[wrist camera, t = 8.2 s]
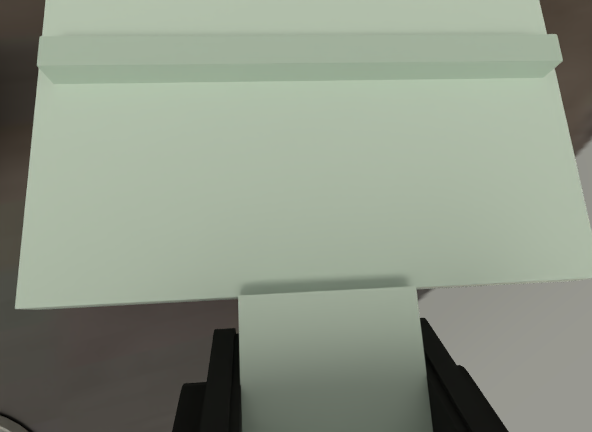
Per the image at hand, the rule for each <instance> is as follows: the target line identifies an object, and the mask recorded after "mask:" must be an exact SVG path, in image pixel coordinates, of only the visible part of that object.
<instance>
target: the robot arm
mask: <svg viewBox="0 0 592 432" xmlns="http://www.w3.org/2000/svg"><path fill="white" fill-rule="evenodd" d="M420 324H421V332H422V340H423V349H424V357H425V365H426V373H427V375H426V376H427V384H428V393H429V401H430V410H431V418H432V427H433V432H508V430H507V429H506V427H505V426H504V425H503V423H502V422H501V420H500V418H499V417H498V416H497V414H496V413H495V411H494V410H493V408H492V407H491V405H490V404H489V402H488V401H487V399H486V398H485V397H484V395H483V394H482V392H481V391H480V389H479V388H478V386H477V385H476V383H475V382H474V380H473V379H472V377H471V376H470V375H469V373H468V372H467V371H466V369H465V368H464V367H462V366H460V365H456V364H455V362H454V361H453V359H452V358H451V356H450V355H449V353H448V352H447V350H446V349H445V347H444V346H443V344H442V343H441V341H440V339H439V338H438V336H437V335H436V333H435V332H434V330H433V329H432V327H431V326H430V324H429V323H428V321H427V320H426V319H425V318H420ZM0 432H28V431H27V430H26V429H24V428H23V427H22V426H20V425H19V424H17V423H15V422H13V421H11V420H10V419H8V418H6V417H3V416H0ZM172 432H242V404H241V385H240V354H239V334H236V330H235V328H230V329H215V330H214V335H213V342H212V349H211V356H210V363H209V370H208V377H207V382H201V383H186V384H183V386H182V389H181V394H180V398H179V403H178V407H177V412H176V416H175V421H174V426H173V430H172Z"/></svg>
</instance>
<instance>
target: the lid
mask: <svg viewBox="0 0 592 432" xmlns="http://www.w3.org/2000/svg"><path fill="white" fill-rule="evenodd" d="M562 61H563V59H562V55H561V50H560V46H559V42H558V37H557V34H547V33H546V29H545V24H544V20H543V15H542V11H541V6H540V2H539V0H46V3H45V13H44V23H43V33H42V36H40V39H39V49H38V58H37V67H38V68H39V73H38V83H37V93H36V103H35V113H34V123H33V133H32V143H31V153H30V163H29V173H28V183H27V192H26V202H25V212H24V222H23V232H22V242H21V252H20V262H19V272H18V282H17V292H16V302H15V309H34V310H41V309H60V308H78V307H97V306H116V305H134V304H153V303H171V302H190V301H208V300H227V299H238V311H239V354H240V385H241V404H242V432H433V427H432V418H431V410H430V401H429V393H428V384H427V376H426V375H427V373H426V365H425V357H424V349H423V340H422V332H421V324H420V316H419V308H418V299H417V291H416V289H431V288H450V287H467V286H485V285H486V286H487V285H505V284H524V283H543V282H560V281H576V280H584V279H592V231H591V227H590V222H589V218H588V214H587V209H586V205H585V200H584V196H583V192H582V187H581V183H580V178H579V174H578V170H577V165H576V161H575V156H574V152H573V147H572V143H571V139H570V134H569V130H568V125H567V121H566V117H565V112H564V108H563V103H562V99H561V95H560V90H559V86H558V81H557V77H556V73H555V67H556V66H557V65H559V64H560V63H561V62H562Z"/></svg>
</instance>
